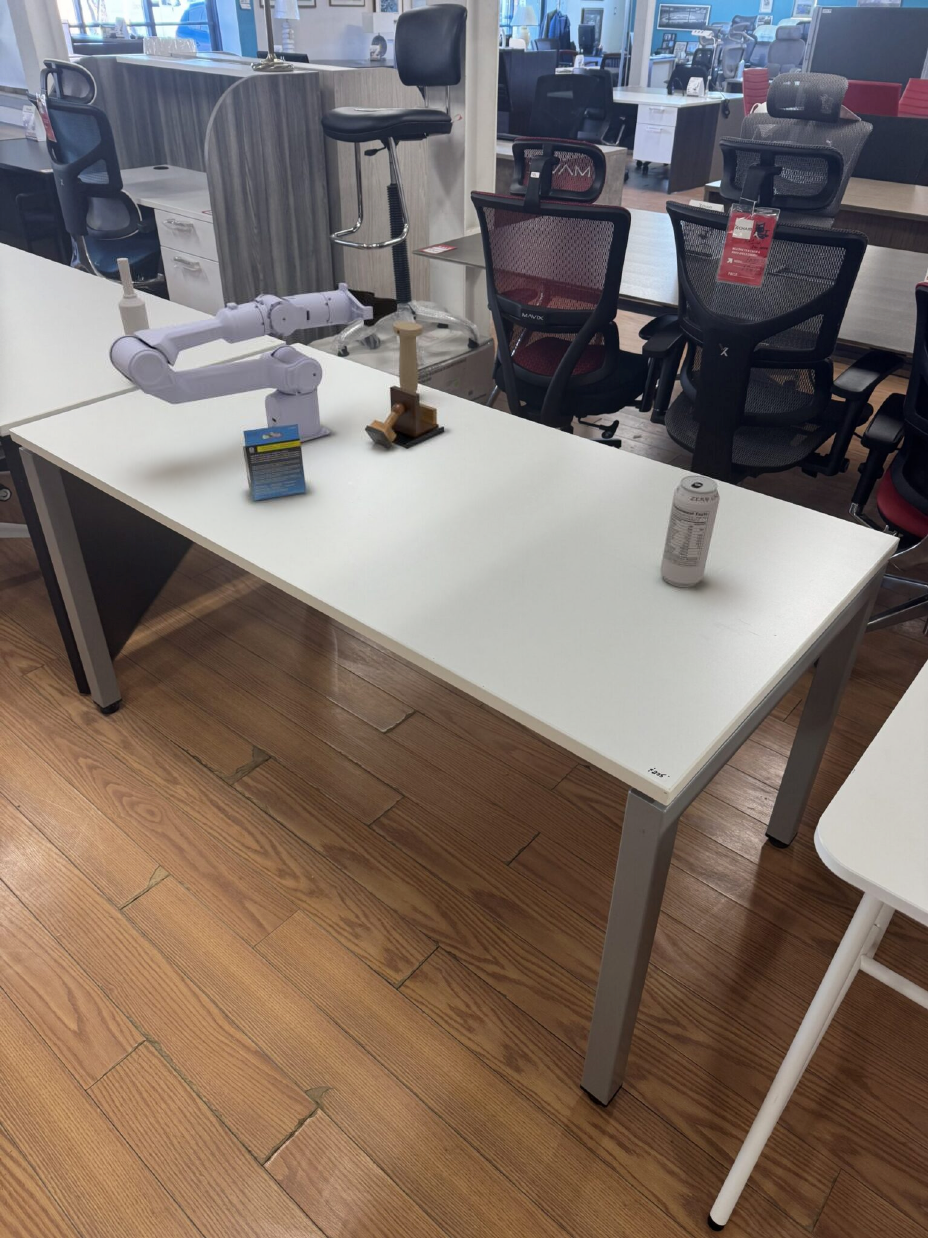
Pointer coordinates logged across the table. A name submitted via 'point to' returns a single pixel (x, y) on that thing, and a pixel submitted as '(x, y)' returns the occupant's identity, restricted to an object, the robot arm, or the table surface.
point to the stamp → (385, 428)
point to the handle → (408, 353)
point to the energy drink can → (690, 531)
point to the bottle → (131, 303)
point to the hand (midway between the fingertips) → (384, 301)
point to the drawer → (412, 413)
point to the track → (411, 441)
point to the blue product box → (274, 462)
